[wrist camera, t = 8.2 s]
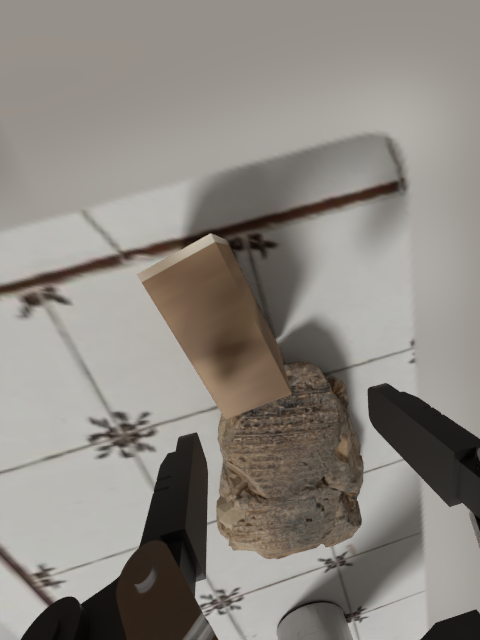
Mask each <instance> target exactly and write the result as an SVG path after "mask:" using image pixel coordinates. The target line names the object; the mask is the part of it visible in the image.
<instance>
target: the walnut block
mask: <svg viewBox="0 0 480 640" xmlns="http://www.w3.org/2000/svg"><path fill="white" fill-rule="evenodd" d="M137 276H138V277H139V279H140V280H141V282H142V284H143V285H144V287H145V289H146V290H147V292H148V294H149V295H150V297H151V298H152V300H153V302H154V303H155V305H156V307H157V308H158V310H159V311H160V313H161V315H162V316H163V318H164V320H165V321H166V323H167V324H168V326H169V328H170V329H171V331H172V333H173V334H174V336H175V337H176V339H177V341H178V342H179V344H180V346H181V347H182V349H183V350H184V352H185V354H186V355H187V357H188V359H189V360H190V362H191V363H192V365H193V367H194V368H195V370H196V372H197V373H198V375H199V376H200V378H201V380H202V381H203V383H204V385H205V386H206V388H207V390H208V391H209V393H210V394H211V396H212V398H213V399H214V401H215V403H216V404H217V406H218V407H219V409H220V411H221V412H222V414H223V416H224V417H225V419H228V418H231V417H233V416H236V415H239V414H241V413H244V412H247V411H249V410H252V409H255V408H257V407H260V406H262V405H265V404H268V403H270V402H273V401H276V400H278V399H281V398H283V397H286V396H289V395H291V394H292V393H291V389H290V385H289V382H288V378H287V374H286V371H285V367H284V363H283V360H282V356H281V352H280V349H279V346H278V344H277V342H276V340H275V338H274V336H273V334H272V332H271V330H270V328H269V326H268V324H267V322H266V320H265V318H264V316H263V314H262V312H261V309H260V307H259V305H258V303H257V301H256V299H255V297H254V295H253V293H252V291H251V289H250V287H249V285H248V283H247V281H246V279H245V277H244V275H243V273H242V271H241V269H240V267H239V265H238V263H237V260H236V258H235V256H234V254H233V252H232V250H231V248H230V246H229V244H228V242H227V240H225V239H223V238H220V237H218V236H216V235H214V234H211V233H210V234H209V235H207V236H205V237H203V238H201V239H200V240H198V241H196V242H194V243H192V244H191V245H189V246H187V247H185V248H184V249H182V250H180V251H178V252H176V253H175V254H173V255H171V256H169V257H167V258H166V259H164V260H162V261H160V262H159V263H157V264H155V265H153V266H151V267H150V268H148V269H146V270H144V271H142V272H141V273H139V274H137Z"/></svg>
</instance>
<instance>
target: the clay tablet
mask: <svg viewBox="0 0 480 640" xmlns="http://www.w3.org/2000/svg"><path fill="white" fill-rule="evenodd" d="M284 367H285V371H286V374H287V378H288V382H289V385H290V389H291V393H292V394H291V395H289V396H286V397H283V398H281V399H278V400H276V401H273V402H270V403H268V404H265V405H262V406H260V407H257V408H255V409H252V410H249V411H247V412H244V413H241V414H239V415H236V416H233V417H231V418H228V419H225V417H224V416H223V414H221V418H220V422H219V427H218V442H219V444H220V451H221V453H222V456H223V468H222V473H221V479H220V488H219V492H220V498H219V499H218V500H217V525H218V529H219V531H220V533H221V534H222V535H223V536H224V537H225V538H226V539H227V540H228V541H229V546H231V547H232V549H233V550H247V551H256V552H257V553H258V554H260V555H261V556H262V557H264V558H267V559H272V558H276V559H280V558H283V557H286V556H289V555H291V554H294V553H298V552H302V551H306V550H309V549H314V548H317V547H318V546H319V545H320V544H324V545H325V547H330V546H334V545H336V544H338V543H341V542H343V541H345V540H347V539H349V538H351V537H352V536H353V535H354V533H355V532H356V531H357V530H358V528H359V527H360V526H361V523H362V519H361V514H360V509H359V505H358V501H357V496H358V495H359V493H360V488H361V486H362V483H363V468H364V467H363V460H362V456H361V455H359V453H360V443H359V441H358V437H357V435H356V433H355V432H354V430H353V428H352V424H351V420H350V417H349V414H348V412H347V406H348V400H347V394H346V389H345V386H344V384H343V382H342V381H341V380H339V379H337V378H335V377H332V376H328V375H325V374H322V372H321V370H320V369H319V368H318V367H317V366H315V365H313V364H311V363H309V362H298V363H293V364H288V365H284Z"/></svg>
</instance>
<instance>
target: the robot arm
mask: <svg viewBox="0 0 480 640" xmlns="http://www.w3.org/2000/svg"><path fill="white" fill-rule="evenodd" d="M368 408H369V418H370V421H371V423H372V425H373V427H374V428H375V429H376V430H377V431H378V433H379V434H380V435H381V436H382V437H383V438H384V439H385V440H386V441H387V442H388V443H389V444H390V445H391V446H392V447H393V448H394V449H395V450H396V451H397V452H398V453H399V454H400V456H401V457H402V458H403V459H404V460H405V461H406V462H407V463H408V464H409V465H410V466H411V467H412V468H413V469H414V470H415V471H416V472H417V473H418V474H419V475H420V476H421V477H422V479H424V481H425V482H426V483H427V484H428V485H429V486H430V487H431V488H432V489H433V490H434V491H435V492H436V493H437V494H438V495H439V496H440V497H441V498H442V499H443V500H444V501H445V503H446V504H447V505H448V506H449V507H451V506H454V505H457V504H461V503H463V504H465V506H467V507H468V508H469V509H470V519H471V522H472V525H473V528H474V531H475V534H476V537H477V540H478V544H479V547H480V439H479V438H477V437H476V436H475V435H473V434H472V433H470V432H469V431H467V430H466V429H464V428H463V427H461V426H460V425H458V424H456V423H455V422H454V421H452V420H451V419H449V418H448V417H446V416H445V415H442V414H441V413H440V412H439V411H437V410H436V409H434V408H431V407H430V405H428V404H427V403H425V402H424V401H422V400H421V399H420V398H418V397H416V396H413V395H411V394H408V393H406V392H399V391H398V390H396V389H395V388H394V387H392V386H391V385H389V384H387V383H384V384H381V385H377V386H373V387H370V388H368ZM207 495H208V469H207V462H206V458H205V455H204V452H203V449H202V446H201V443H200V440H199V437H198V434H197V433H192V434H188V435H184V436H180V437H179V438H178V442H177V447H176V452H172V453H168V454H167V456H166V457H165V459H164V461H163V462H162V464H161V465H160V469H159V473H158V477H157V482H156V484H155V488H154V494H153V496H152V500H151V504H150V508H149V512H148V516H147V520H146V524H145V528H144V532H143V536H142V540H141V543H140V546H139V548H138V549H137V550H136V551H135V552H134V553H133V555H132V556H131V557H130V558H129V560H128V561H127V563H126V564H125V566H124V568H123V570H122V572H121V574H120V576H119V577H118V578H117V579H116V580H115V581H113V582H112V583H111V584H109V585H108V586H106V587H105V588H104V589H102V590H101V591H99V592H98V593H96V594H95V595H93V596H92V597H91V598H89V599H88V600H86V601H85V602H83V603H82V604H80V603H79V601H78V600H77V599H76V598H74V597H65V598H62V599H60V600H58V601H56V602H54V603H53V604H52V605H50V606H49V607H48V608H46V609H45V610H44V611H43V612H42V613H41V614H40V615H39V616H38V617H37V618H36V620H35V621H34V622H33V623H32V624H31V626H30V627H29V628H28V630H27V631H26V632H25V634H24V635H23V637H22V638H21V640H218V638H217V636H216V635H215V633H214V631H213V629H212V627H211V625H210V624H209V622H208V620H207V619H206V618H205V616H204V614H203V612H202V611H201V609H200V607H199V605H198V603H197V601H196V599H195V583H196V582H197V581H200V580H204V579H206V541H207ZM277 637H278V640H353V638H352V635H351V632H350V630H349V627H348V624H347V622H346V619H345V616H344V613H343V611H342V609H341V608H339V607H338V606H336V605H334V604H331V603H314V604H310V605H306V606H303V607H301V608H299V609H297V610H295V611H293V612H292V613H290V614H289V615H287V616H286V617H285V618H284V619H283V620H282V622H281V623H280V625H279V627H278V629H277ZM421 640H480V614H479V612H478V611H477V610H473V611H470V612H467V613H464V614H461V615H458V616H455V617H452V618H449V619H446V620H443V621H440V622H437V623H435V625H433V627H432V628H431V629H430V630H429V631H428V632H427V633H426V634H425V635H424V636H423V638H422V639H421Z"/></svg>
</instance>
